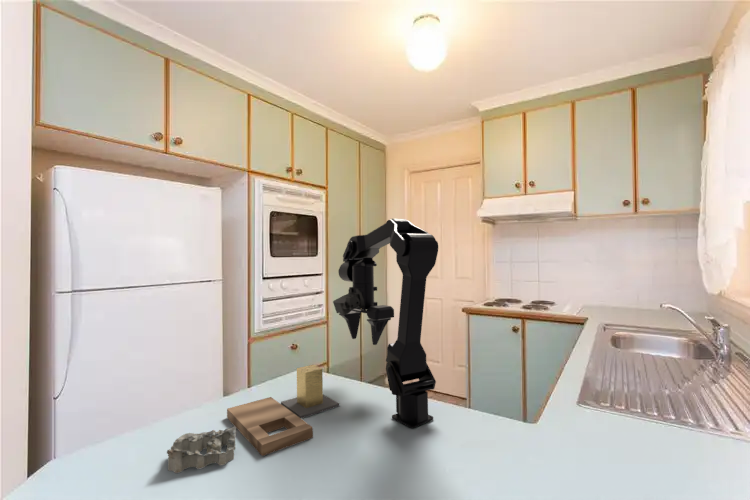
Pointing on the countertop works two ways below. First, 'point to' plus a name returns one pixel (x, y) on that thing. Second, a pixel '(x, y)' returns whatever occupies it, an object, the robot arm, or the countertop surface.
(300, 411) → the rubber mat
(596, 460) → the countertop surface
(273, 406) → the walnut board
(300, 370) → the brass plug
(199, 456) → the egg carton
